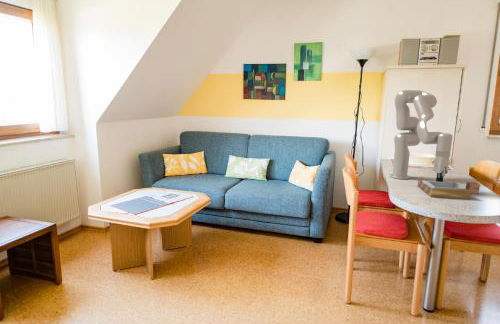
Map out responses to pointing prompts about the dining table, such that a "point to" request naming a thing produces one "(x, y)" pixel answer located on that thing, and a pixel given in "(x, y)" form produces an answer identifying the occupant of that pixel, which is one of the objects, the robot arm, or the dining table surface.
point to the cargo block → (473, 187)
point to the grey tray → (444, 185)
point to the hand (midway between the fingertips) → (439, 183)
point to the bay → (444, 192)
